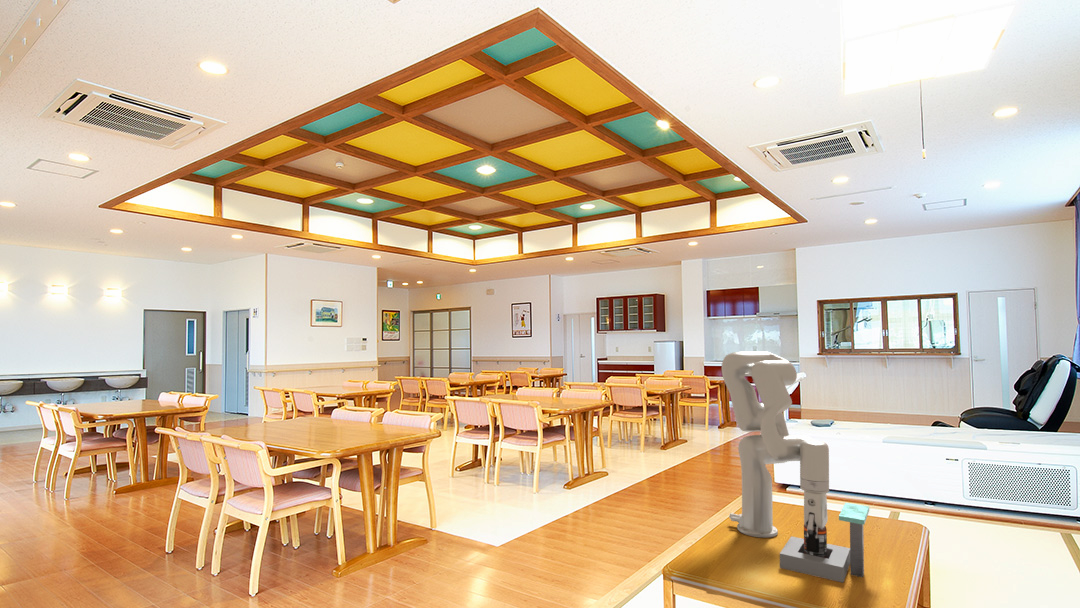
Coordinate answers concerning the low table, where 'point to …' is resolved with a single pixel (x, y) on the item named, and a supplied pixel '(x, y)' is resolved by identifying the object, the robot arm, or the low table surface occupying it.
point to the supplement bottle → (822, 542)
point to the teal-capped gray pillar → (855, 535)
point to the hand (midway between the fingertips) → (814, 547)
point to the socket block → (815, 560)
